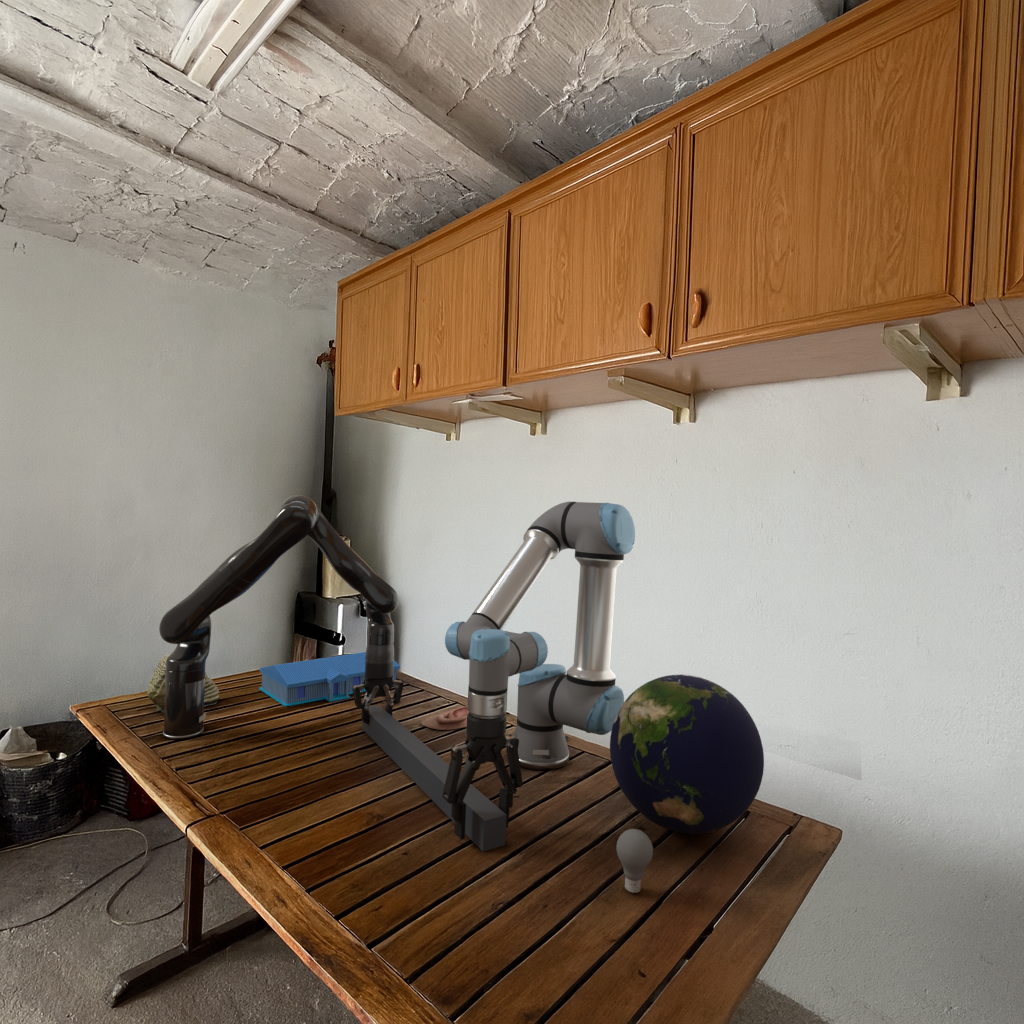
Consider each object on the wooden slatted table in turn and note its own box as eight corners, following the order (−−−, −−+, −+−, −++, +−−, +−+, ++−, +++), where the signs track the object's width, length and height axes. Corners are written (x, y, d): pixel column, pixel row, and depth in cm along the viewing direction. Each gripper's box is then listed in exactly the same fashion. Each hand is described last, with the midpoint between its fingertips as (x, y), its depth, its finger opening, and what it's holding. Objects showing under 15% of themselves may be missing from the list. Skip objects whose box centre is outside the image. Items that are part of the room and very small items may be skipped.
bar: (361, 728, 174) (362, 707, 174) (378, 725, 177) (379, 704, 176) (482, 851, 116) (484, 820, 116) (505, 845, 118) (506, 814, 118)
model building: (289, 709, 186) (291, 675, 185) (258, 688, 204) (259, 657, 204) (403, 687, 212) (405, 657, 212) (366, 670, 230) (368, 643, 230)
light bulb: (610, 879, 108) (613, 822, 108) (644, 879, 109) (647, 822, 109) (619, 902, 102) (622, 840, 102) (655, 901, 103) (658, 840, 103)
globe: (589, 842, 120) (597, 685, 120) (623, 780, 148) (629, 652, 147) (758, 884, 109) (767, 711, 108) (760, 808, 137) (767, 670, 136)
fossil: (144, 707, 182) (145, 655, 182) (212, 696, 194) (213, 647, 194) (151, 716, 175) (153, 662, 175) (221, 703, 188) (223, 653, 188)
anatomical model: (417, 713, 176) (431, 700, 187) (417, 727, 176) (430, 714, 187) (463, 718, 173) (474, 705, 184) (463, 733, 173) (473, 719, 184)
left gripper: (357, 665, 164) (355, 730, 164) (409, 660, 171) (407, 722, 172) (349, 658, 170) (346, 720, 170) (399, 653, 178) (396, 713, 178)
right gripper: (443, 727, 111) (438, 854, 112) (544, 710, 123) (539, 826, 123) (426, 714, 118) (421, 834, 118) (524, 699, 129) (519, 809, 130)
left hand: (376, 721), depth 171 cm, fingers open, 5 cm apart
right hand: (481, 830), depth 121 cm, fingers open, 9 cm apart
